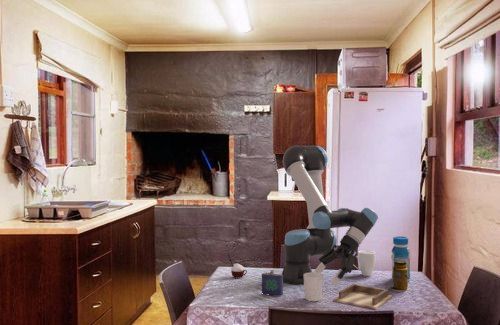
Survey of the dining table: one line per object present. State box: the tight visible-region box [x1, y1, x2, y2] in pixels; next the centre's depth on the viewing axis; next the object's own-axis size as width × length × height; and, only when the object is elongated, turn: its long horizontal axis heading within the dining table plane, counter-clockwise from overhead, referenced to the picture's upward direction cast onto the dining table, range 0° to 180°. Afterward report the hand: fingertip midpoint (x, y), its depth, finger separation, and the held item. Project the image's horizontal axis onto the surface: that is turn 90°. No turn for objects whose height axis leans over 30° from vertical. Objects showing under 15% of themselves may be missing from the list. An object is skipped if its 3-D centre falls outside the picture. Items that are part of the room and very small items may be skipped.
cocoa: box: [226, 252, 248, 278], centre depth 223 cm, size 10×6×12 cm, turn 82°
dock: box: [332, 283, 393, 310], centre depth 186 cm, size 18×18×3 cm
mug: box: [353, 249, 376, 277], centre depth 224 cm, size 12×8×11 cm
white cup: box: [303, 271, 324, 302], centre depth 188 cm, size 8×8×10 cm
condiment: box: [386, 260, 412, 293], centre depth 201 cm, size 7×8×12 cm
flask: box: [261, 269, 284, 295], centre depth 194 cm, size 9×3×11 cm, turn 74°
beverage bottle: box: [390, 235, 411, 282], centre depth 215 cm, size 8×8×20 cm
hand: (323, 280), depth 187 cm, fingers open, 13 cm apart
